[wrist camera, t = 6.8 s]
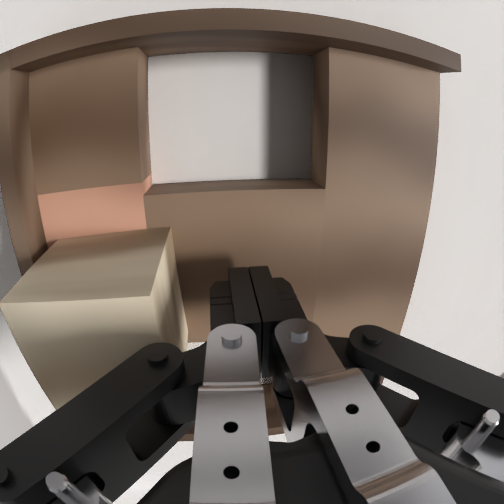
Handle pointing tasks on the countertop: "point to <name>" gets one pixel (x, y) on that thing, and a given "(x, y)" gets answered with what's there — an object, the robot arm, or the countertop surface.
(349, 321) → the box
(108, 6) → the countertop surface
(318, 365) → the robot arm
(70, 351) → the birch block
